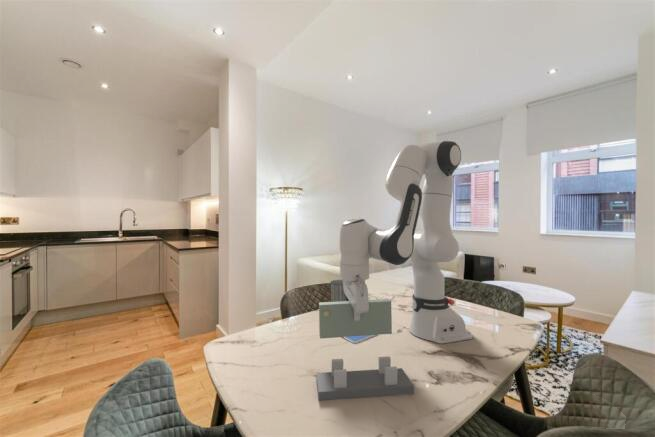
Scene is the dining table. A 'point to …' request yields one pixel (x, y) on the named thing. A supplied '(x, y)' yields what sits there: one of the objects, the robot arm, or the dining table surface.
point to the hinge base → (363, 381)
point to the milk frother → (337, 291)
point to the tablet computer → (358, 338)
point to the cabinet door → (342, 324)
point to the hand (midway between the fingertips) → (355, 317)
